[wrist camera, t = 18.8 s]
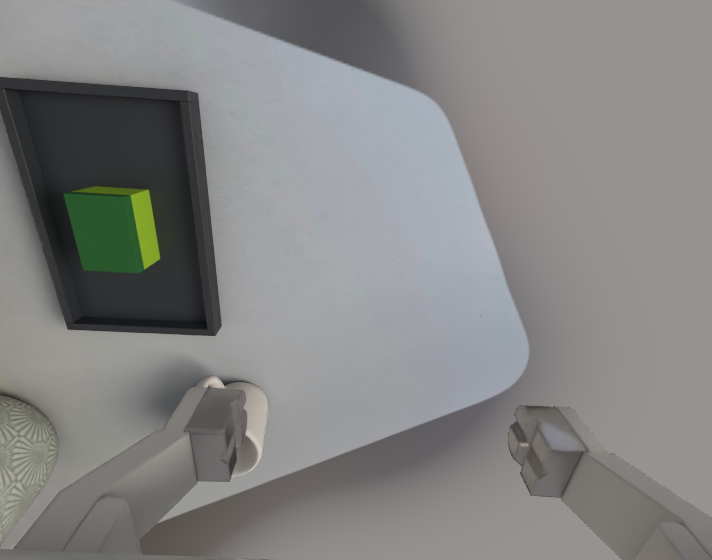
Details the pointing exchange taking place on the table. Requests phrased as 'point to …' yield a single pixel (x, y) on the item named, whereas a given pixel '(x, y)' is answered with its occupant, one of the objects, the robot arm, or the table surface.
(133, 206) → the sponge
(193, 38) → the table surface
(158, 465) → the robot arm
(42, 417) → the planter
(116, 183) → the tray
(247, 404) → the cup
